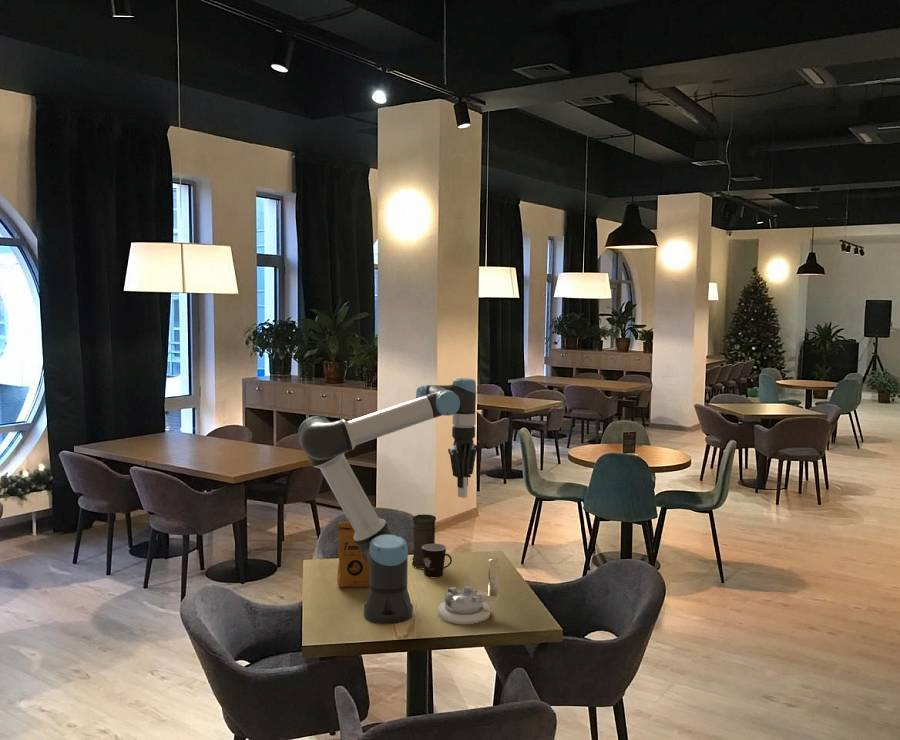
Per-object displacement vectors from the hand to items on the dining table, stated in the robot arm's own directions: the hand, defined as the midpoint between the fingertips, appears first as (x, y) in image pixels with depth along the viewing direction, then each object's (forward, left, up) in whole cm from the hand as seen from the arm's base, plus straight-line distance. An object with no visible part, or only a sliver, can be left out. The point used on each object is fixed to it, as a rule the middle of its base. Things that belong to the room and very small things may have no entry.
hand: (462, 496), depth 270 cm
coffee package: (-19, +31, -33) cm, 49 cm away
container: (+12, +28, -33) cm, 44 cm away
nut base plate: (-14, -13, -32) cm, 38 cm away
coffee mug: (+6, +17, -33) cm, 37 cm away
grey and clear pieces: (-13, -15, -30) cm, 36 cm away
